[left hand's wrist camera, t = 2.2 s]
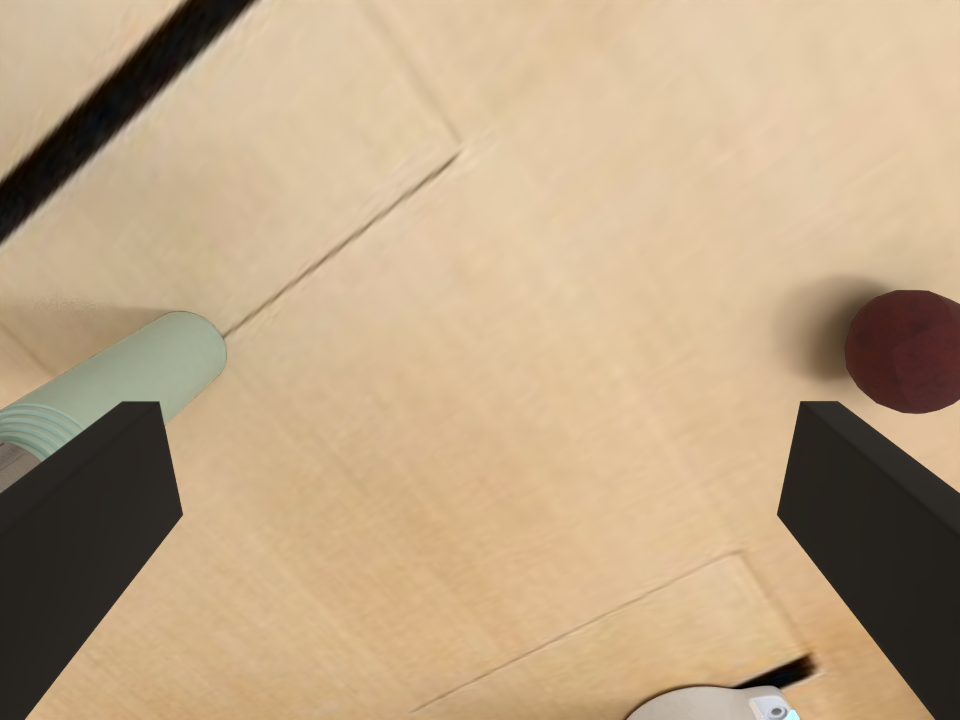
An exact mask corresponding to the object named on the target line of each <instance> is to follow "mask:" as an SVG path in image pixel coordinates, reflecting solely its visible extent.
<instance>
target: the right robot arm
mask: <svg viewBox="0 0 960 720" xmlns="http://www.w3.org/2000/svg"><path fill="white" fill-rule="evenodd" d="M626 720H801V719H800V718H799V716H798V715H797V714H796V712H795V711H794V709H793V708H792V707H791V705H790V704H789V702H788V701H787V699H786V698H785V697H784V695H783V694H782V692H781V691H780V690H779V689H778V688H777V687H774V686H759V687H752V688H746V689H728V688H720V687H691V688H684V689H679V690H675V691H672V692H669V693H666V694H663V695H661V696H658V697H656V698H654V699H652V700H650V701H649V702H647V703H645V704H644V705H642V706H641V707H639V708H638V709H637V710H636V711H634V712H633V713H632V714H631V715H630V716H629V717H628V718H627V719H626Z"/></svg>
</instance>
